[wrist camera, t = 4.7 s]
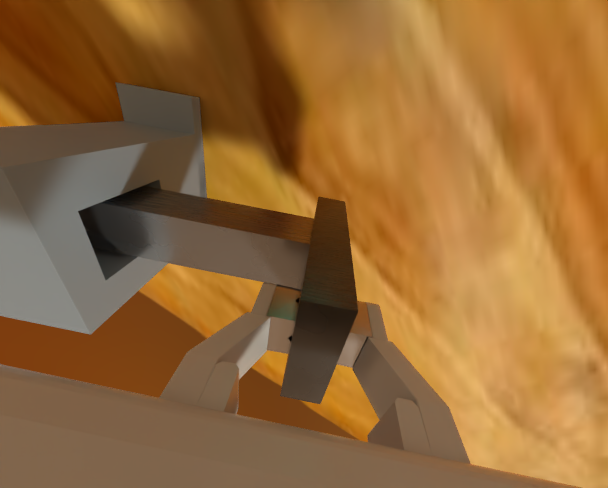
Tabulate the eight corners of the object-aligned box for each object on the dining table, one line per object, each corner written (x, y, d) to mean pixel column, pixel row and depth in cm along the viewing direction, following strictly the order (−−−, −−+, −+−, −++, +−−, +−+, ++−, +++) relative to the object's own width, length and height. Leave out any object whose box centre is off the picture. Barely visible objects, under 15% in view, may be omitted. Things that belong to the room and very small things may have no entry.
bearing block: (127, 84, 15) (-247, 35, 5) (199, 97, 15) (-50, 72, 5) (159, 236, 21) (11, 341, 12) (210, 246, 21) (105, 361, 12)
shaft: (9, 137, 13) (-361, 167, 6) (344, 201, 13) (358, 311, 6) (47, 216, 15) (-181, 300, 9) (326, 271, 15) (320, 404, 8)
